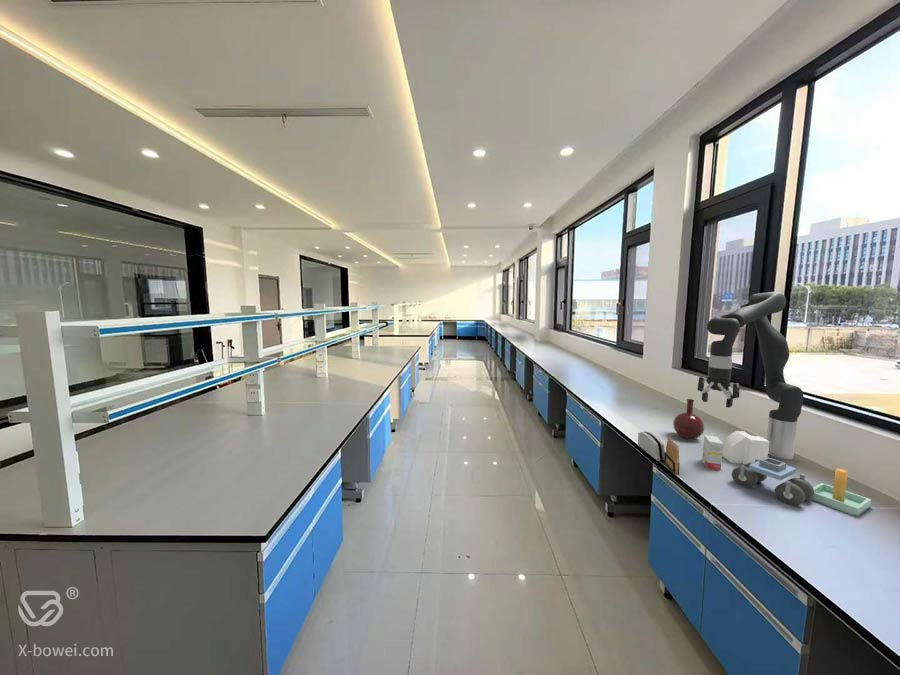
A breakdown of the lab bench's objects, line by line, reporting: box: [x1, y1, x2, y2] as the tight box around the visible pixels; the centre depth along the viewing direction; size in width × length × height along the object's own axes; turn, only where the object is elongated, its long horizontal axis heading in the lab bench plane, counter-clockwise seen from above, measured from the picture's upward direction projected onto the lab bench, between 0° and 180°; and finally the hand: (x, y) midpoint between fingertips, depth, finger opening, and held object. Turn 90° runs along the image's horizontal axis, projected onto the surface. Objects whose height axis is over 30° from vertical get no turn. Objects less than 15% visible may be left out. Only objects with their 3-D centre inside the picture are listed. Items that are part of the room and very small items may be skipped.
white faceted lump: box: [722, 430, 769, 465], centre depth 150 cm, size 11×11×12 cm
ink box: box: [701, 434, 723, 471], centre depth 147 cm, size 9×5×12 cm, turn 156°
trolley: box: [731, 456, 814, 507], centre depth 126 cm, size 12×20×12 cm, turn 27°
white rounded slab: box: [637, 431, 666, 462], centre depth 157 cm, size 17×5×10 cm, turn 178°
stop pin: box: [832, 468, 849, 503], centre depth 119 cm, size 3×3×11 cm
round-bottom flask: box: [672, 398, 705, 440], centre depth 176 cm, size 13×13×20 cm
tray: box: [808, 482, 872, 518], centre depth 120 cm, size 12×12×3 cm
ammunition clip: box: [663, 437, 680, 475], centre depth 143 cm, size 11×2×12 cm, turn 167°
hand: (716, 404), depth 144 cm, fingers open, 8 cm apart
